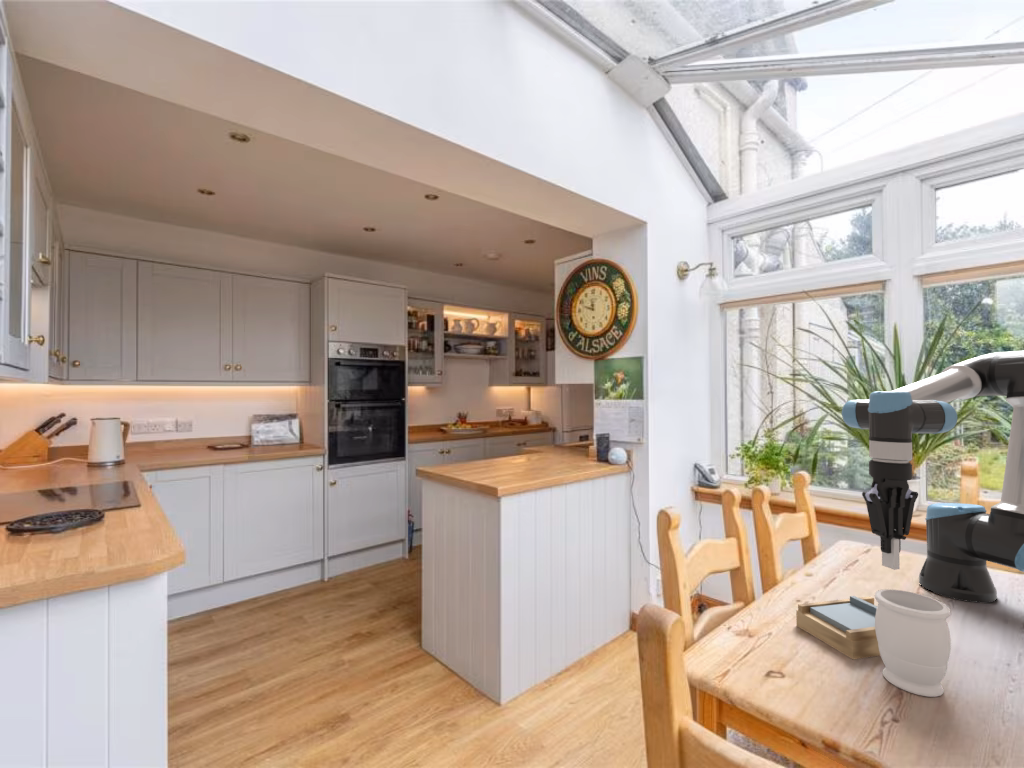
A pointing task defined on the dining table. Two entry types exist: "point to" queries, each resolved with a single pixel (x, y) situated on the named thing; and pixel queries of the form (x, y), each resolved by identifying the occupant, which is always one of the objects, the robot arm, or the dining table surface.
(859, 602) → the cover plate
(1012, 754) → the dining table surface
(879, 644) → the jar
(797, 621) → the slide box
